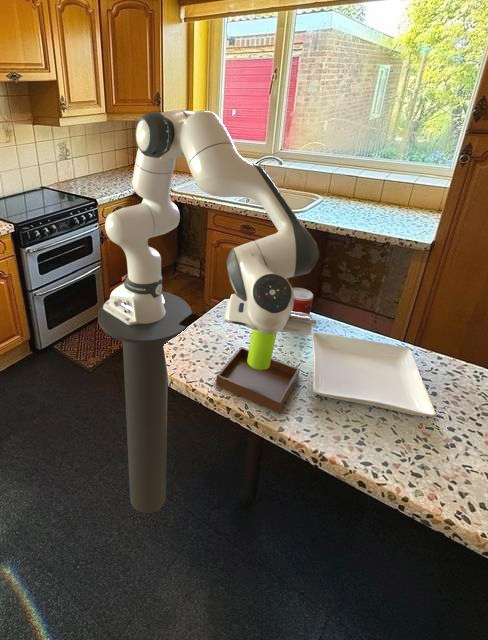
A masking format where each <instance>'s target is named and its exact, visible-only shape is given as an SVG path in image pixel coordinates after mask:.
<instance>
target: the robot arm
mask: <svg viewBox="0 0 488 640" xmlns="http://www.w3.org/2000/svg"><path fill="white" fill-rule="evenodd" d="M135 142H136V146H137V152H136V156H135V163H134V168H133V175H132V181H131V186H132V189H133V191H134V192H135V194H136V195H138V196H139V197H141V198H142V201H141V203H139V204H135V205H130V206H125V207H121V208H119V209H117V210H114V211H113V212H111V213H109V214H108V215H107V217H106V219H105V222H104V228H105V234H106V235H107V237H108V239H109V240H110V241H111V242H112V243H114V244H115V245H117V246H118V247H120V248H121V249H122V250H123V252H124V254H125V258H126V266H127V267H126V268H127V273H126V274H125V275H124V276H122V277H121V281H122V282H121V284H120V285H119V286H116V287H115V288H114V289H113V290H112V291H111V293H110V295H109V299H107V300H108V301H107V300H106V301H107V302H106V301H105V302H106V303H105V302H104V303H105V304H104V303H103V304H104V306H103V309H104V310H105V311H107V312H108V313H110V314H111V315H113V316H115V317H116V318H118V319H119V320H121V321H123V322H124V323H126V324H127V325H135V324H148V323H154V322H157V321H159V320H161V319H162V318H163V317H164V316H165V313H166V311H165V308H164V304H163V303H164V299H163V296H162V291H163V275H162V256H161V254H160V252H159V251H158V250H157V249H156V248H153V247H151V246H149V239H151V238H155V237H158V236H162V235H165V234H168V233H169V232H171V231H173V230H174V229H176V228H177V227H178V226H179V223H180V219H181V215H180V210H179V208H178V206H177V205H176V204H175V202H173V201H172V200H171V194H170V192H171V191H170V190H171V185H172V180H173V175H174V170H175V166H176V162H177V161H176V159H180V158H185V160H186V163H187V166H188V168H189V171H190V174H191V176H192V178H193V181H194V182H195V184H196V185H197V187H198V188H199V189H200V190H201V191H202V192H204V193H206V194H208V195H210V196H215V197H219V198H246V199H251V200H255V201H256V202H258V203H259V204H260V205H261V206H262V208H263V210H264V211H265V213H266V214H267V216H268V217H269V219H270V220H271V222H272V224H273V225H274V226H275V228H276V230H277V232H275V233H273V234H269V235H267V236H265V237H262V238H258V239H255V240H252V241H248V242H246V243H243V244H240V245H237V246H235V247H233V248H231V250H230V251H229V253H228V256H227V259H226V269H227V270H226V271H227V275H228V279H229V283H230V285H231V288H232V290H233V293H231V295H230V297H229V300H227V302H226V303H225V306H224V311H223V312H224V313H223V318H222V321H223V322H224V323H227V324H234V325H239V326H243V327H246V328H249V329H251V330H257V331H258V332H260V333H263V334H274V333H277V334H278V333H287V334H294V335H300V336H311V334H312V327H315V326H316V325H317V323H318V321H317V319H313V317H312V315H311V314H310V315H309V314H306V313H300V312H293V311H292V310H293V306H294V293H293V289H292V288H293V286H292V285H291V282H290V281H289V280H288V279H289V278H296V277H299V276H303V275H308V274H310V273H311V271H313V269H314V268H315V267H316V265H317V262H318V260H319V259H320V251H319V247H318V244H317V241H316V240H315V239H314V238H313V236H312V234H311V233H310V232H309V231H308V230H307V228H306V227H305V226H304V224H302V222H301V220H299V218H298V217H297V215H296V214H295V213H294V211H293V210H292V208H291V207H290V205H289V204H288V202H287V200H286V199H285V198H284V196H283V195H282V193H281V192H280V191H279V188H278V187H277V186H276V184H275V183H274V182H273V180H272V179H271V177H270V176H269V175H268V174H267V172H266V171H265V170H264V168H262V167H261V166H260V165H259V164H256V163H251V162H250V161H248V160H246V159H245V158H244V157H243V156H242V155H241V154H240V153H239V151H238V150H237V149H236V148H237V147H236V145H235V144H234V141H233V139H232V137H231V135H230V133H229V132H228V130H227V128H226V126H225V125H224V123H223V122H222V120H221V119H220V117H219V116H218V115H217V114H216V113H215V112H213V111H211V110H203V109H202V110H198V111H193V110H184V109H183V110H182V109H178V110H171V111H170V110H168V111H160V112H159V111H152V112H147V113H145V114H143V115H142V116H140V118H139V120H138V121H137V123H136V127H135Z"/></svg>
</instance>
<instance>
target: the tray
mask: <svg viewBox="0 0 488 640" xmlns="http://www.w3.org/2000/svg"><path fill="white" fill-rule="evenodd" d="M248 353H249V348H245V347H243V346H240V347H239V348H238V350H237V351H236V352H235V353H234V355H232V356H231V358H230V359H229V360H228V361H227V363H226V364H225V365H224V366H223V368H222V369H220V371H219V372H218V373H217V375H216V380H215V385H216V386H217V387H219V388H220V389H221V388H222V389H224V390H226V391H228V392H230V393H233V394H235V395H237V396H239V397H241V398H244V399H246V400H248V401H251V402H252V403H255V404H257V405H259V406H262V407H264V408H266V409H268V410H270V411H272V412H274V413H277V414H279V413H281V412H280V411H281V410H282V408H283V407H284V405H285V403H286V401H287V399H288V397H289V396H290V394H291V392H292V390H293V389H294V387H295V385H296V383H297V381H298V380H299V376H300V371H301V369H300V368H298V367H296V366H294V365H290V364H288V363H285V362H282V361H280V360H277V359H275V358H271V362H270V366H269V368H268V369H265V370H258V369H254V368H252V367H251V366H250V365H249V364H248V362H247V359H248Z"/></svg>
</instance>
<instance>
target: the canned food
mask: <svg viewBox="0 0 488 640" xmlns="http://www.w3.org/2000/svg"><path fill="white" fill-rule="evenodd" d="M292 289H293V293H294V306H293V310H292V311H293V312H300V313H306V314H309V315H311V310H312V304H313V300H314V294H313V293H312V291H310V290H308V289H307V288H303V287H292Z"/></svg>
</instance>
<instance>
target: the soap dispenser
mask: <svg viewBox="0 0 488 640" xmlns="http://www.w3.org/2000/svg"><path fill="white" fill-rule="evenodd" d="M251 330H252V331H251V335H250V336H251V337H250V342H249V348H248V350H249V353H248V359H247V362H248V364H249V365H250V366H251V367H252V368H254V369H258V370H265V369H268V368H269V366H270V362H271V358H272V357H273V353H274V348H275V343H276V339H277V334H278V332H277V333H274V334H263V333H260V332H258V331H257V330H253V329H251ZM272 359H273V358H272Z"/></svg>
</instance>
